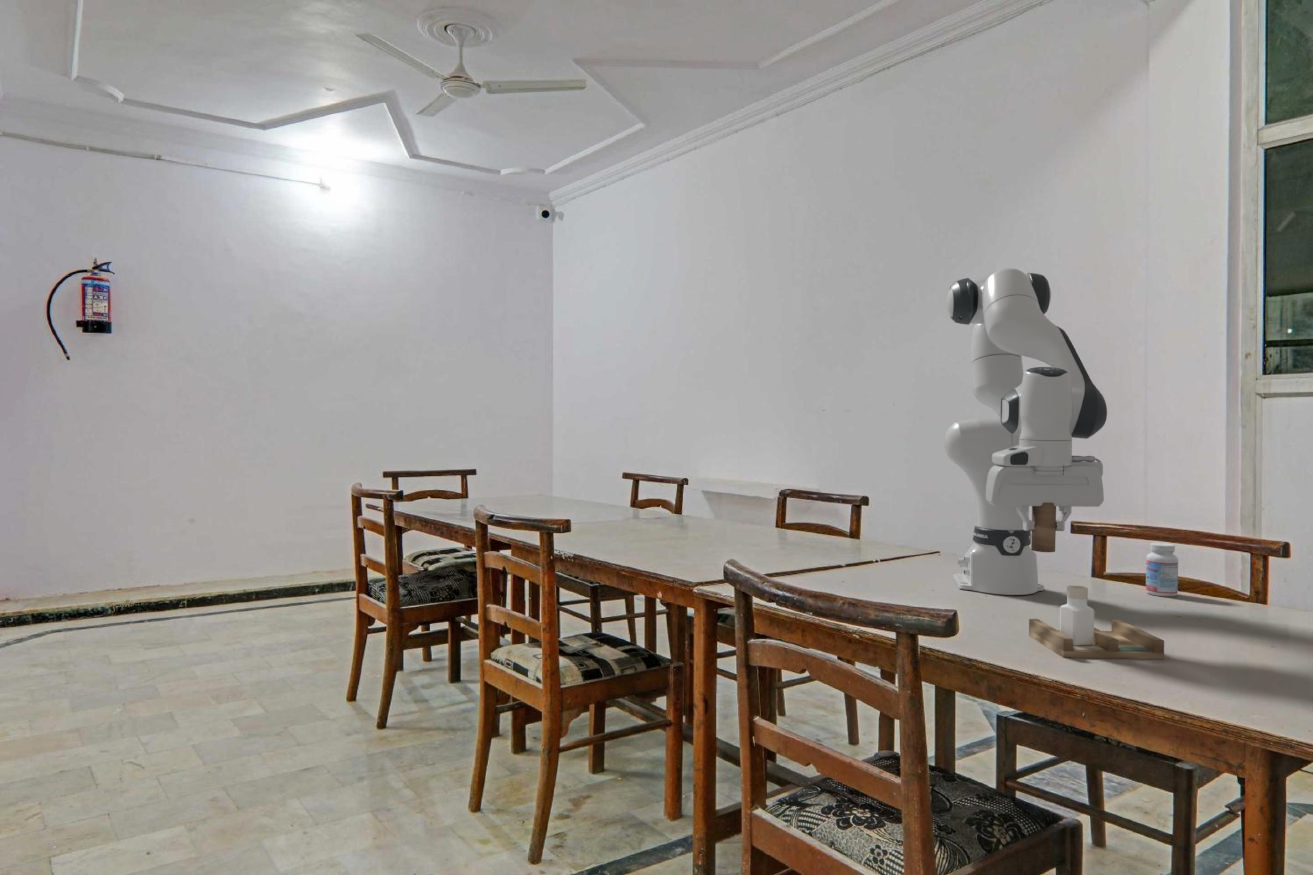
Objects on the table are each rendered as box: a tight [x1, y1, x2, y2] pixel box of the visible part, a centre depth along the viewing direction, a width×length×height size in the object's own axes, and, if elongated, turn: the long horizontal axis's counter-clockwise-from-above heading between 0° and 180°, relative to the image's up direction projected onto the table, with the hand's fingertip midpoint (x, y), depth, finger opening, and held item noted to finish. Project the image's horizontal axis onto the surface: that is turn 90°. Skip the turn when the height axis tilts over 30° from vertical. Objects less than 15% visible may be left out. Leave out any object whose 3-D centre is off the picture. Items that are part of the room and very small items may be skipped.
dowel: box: [1030, 503, 1057, 553], centre depth 154 cm, size 4×4×9 cm
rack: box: [1028, 618, 1165, 660], centre depth 143 cm, size 14×16×3 cm
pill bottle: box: [1145, 542, 1179, 598], centre depth 187 cm, size 6×6×11 cm
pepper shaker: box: [1059, 585, 1095, 646], centre depth 141 cm, size 4×4×10 cm
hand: (1043, 530), depth 154 cm, fingers closed on dowel, 4 cm apart
